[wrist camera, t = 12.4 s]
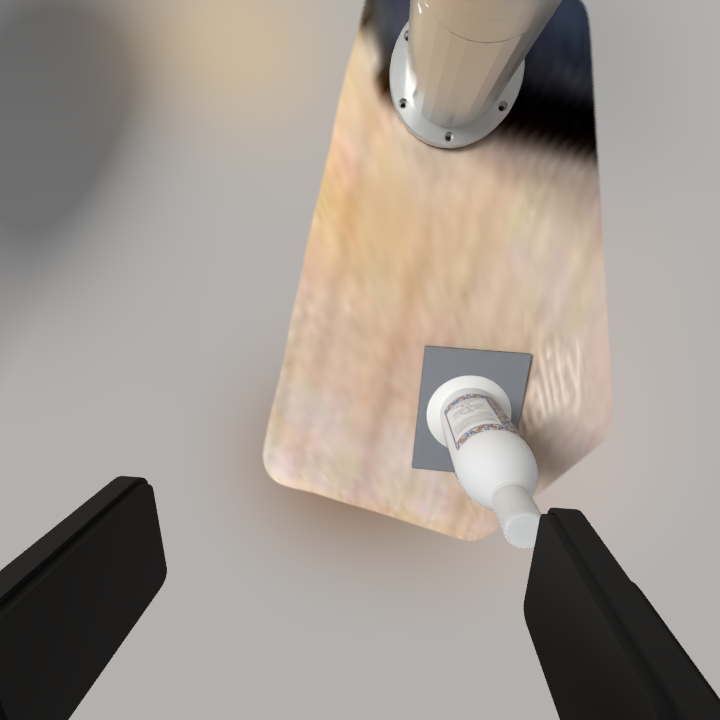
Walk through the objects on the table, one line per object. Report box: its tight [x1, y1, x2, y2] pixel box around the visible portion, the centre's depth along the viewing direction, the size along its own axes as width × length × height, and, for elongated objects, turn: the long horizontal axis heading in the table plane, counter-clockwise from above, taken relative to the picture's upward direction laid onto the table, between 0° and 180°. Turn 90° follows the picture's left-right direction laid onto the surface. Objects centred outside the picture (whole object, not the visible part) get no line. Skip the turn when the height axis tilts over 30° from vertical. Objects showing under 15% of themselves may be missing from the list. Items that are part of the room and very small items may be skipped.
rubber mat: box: [412, 346, 531, 472], centre depth 44 cm, size 16×12×1 cm
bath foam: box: [440, 388, 542, 549], centre depth 34 cm, size 7×7×20 cm
